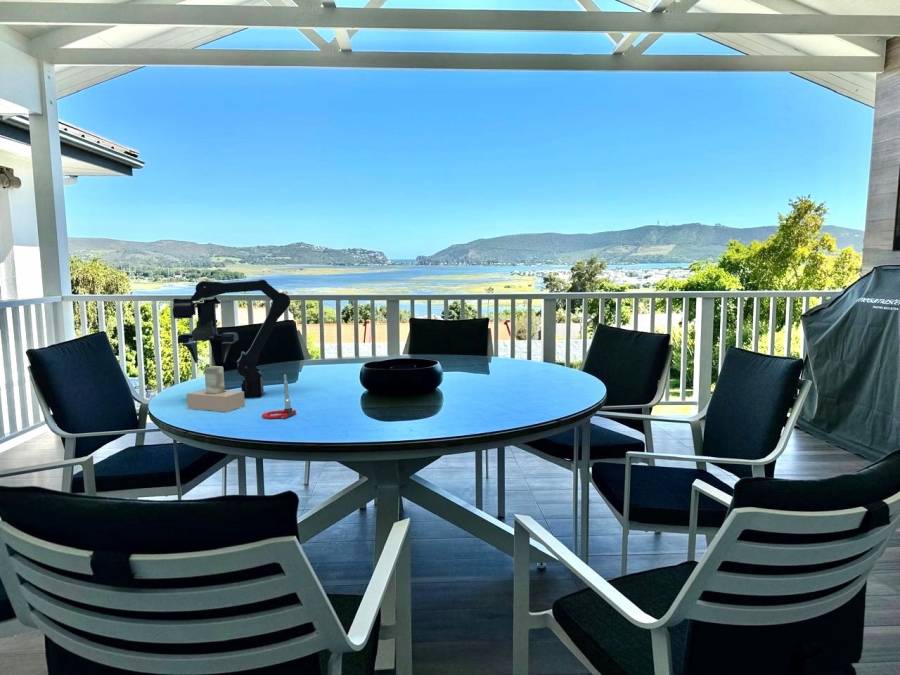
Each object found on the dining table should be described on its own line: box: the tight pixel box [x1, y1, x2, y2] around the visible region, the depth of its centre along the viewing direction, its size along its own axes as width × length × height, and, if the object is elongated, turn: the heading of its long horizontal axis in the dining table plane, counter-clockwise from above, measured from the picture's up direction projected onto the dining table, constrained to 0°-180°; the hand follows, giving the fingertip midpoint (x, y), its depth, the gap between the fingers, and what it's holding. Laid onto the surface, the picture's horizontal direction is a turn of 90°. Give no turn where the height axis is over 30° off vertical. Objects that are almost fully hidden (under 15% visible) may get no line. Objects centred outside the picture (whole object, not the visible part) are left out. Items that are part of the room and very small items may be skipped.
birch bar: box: [204, 365, 226, 395], centre depth 189 cm, size 4×4×12 cm
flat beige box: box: [186, 388, 246, 413], centre depth 190 cm, size 8×16×5 cm, turn 68°
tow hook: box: [261, 374, 297, 420], centre depth 177 cm, size 8×13×9 cm
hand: (209, 362), depth 200 cm, fingers open, 9 cm apart
